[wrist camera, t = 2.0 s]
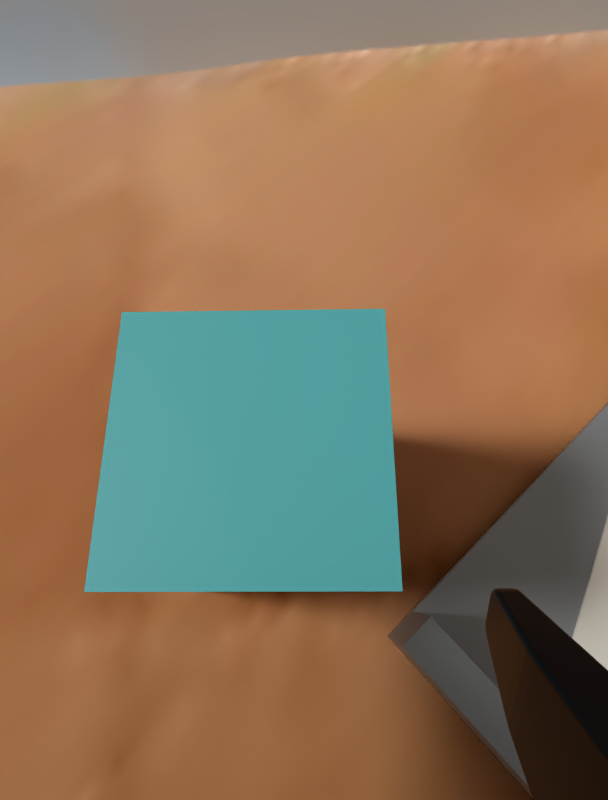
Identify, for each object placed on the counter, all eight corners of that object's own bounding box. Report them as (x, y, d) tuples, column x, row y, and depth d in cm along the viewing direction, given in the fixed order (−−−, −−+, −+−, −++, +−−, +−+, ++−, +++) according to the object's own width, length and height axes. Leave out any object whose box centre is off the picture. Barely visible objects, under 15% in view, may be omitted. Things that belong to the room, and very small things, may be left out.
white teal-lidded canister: (360, 589, 19) (402, 591, 10) (198, 589, 19) (83, 592, 10) (354, 430, 21) (384, 303, 12) (208, 431, 21) (122, 307, 12)
